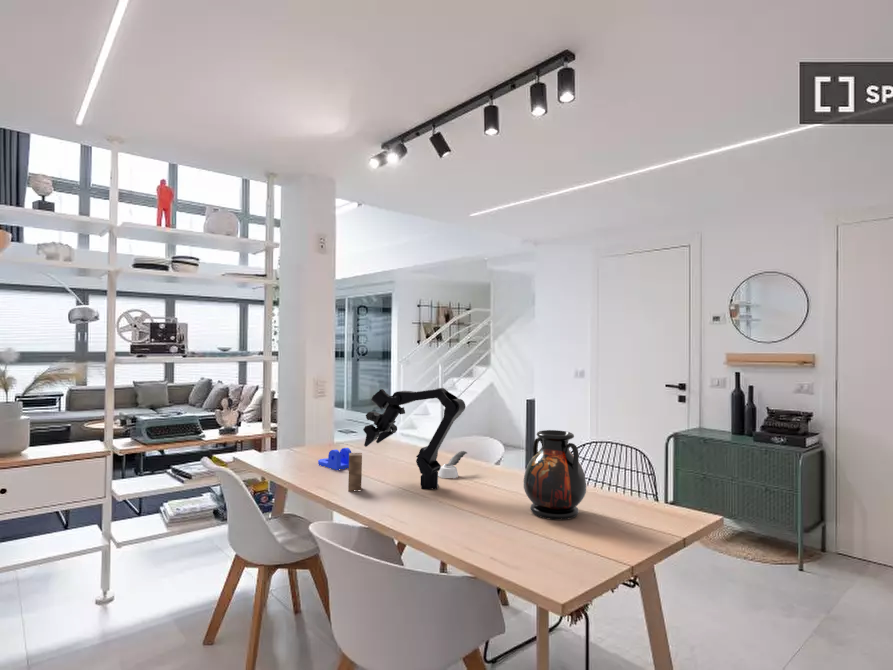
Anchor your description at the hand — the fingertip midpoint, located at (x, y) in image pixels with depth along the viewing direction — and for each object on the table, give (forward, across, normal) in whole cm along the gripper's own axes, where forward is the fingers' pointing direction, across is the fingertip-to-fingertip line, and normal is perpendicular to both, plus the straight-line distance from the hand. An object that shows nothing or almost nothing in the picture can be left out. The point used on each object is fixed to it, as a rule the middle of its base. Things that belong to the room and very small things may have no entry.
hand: (371, 444), depth 224 cm
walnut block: (+10, +17, +12) cm, 23 cm away
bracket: (+29, -12, -15) cm, 34 cm away
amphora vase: (-34, +9, +76) cm, 83 cm away
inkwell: (-4, -24, +32) cm, 40 cm away
